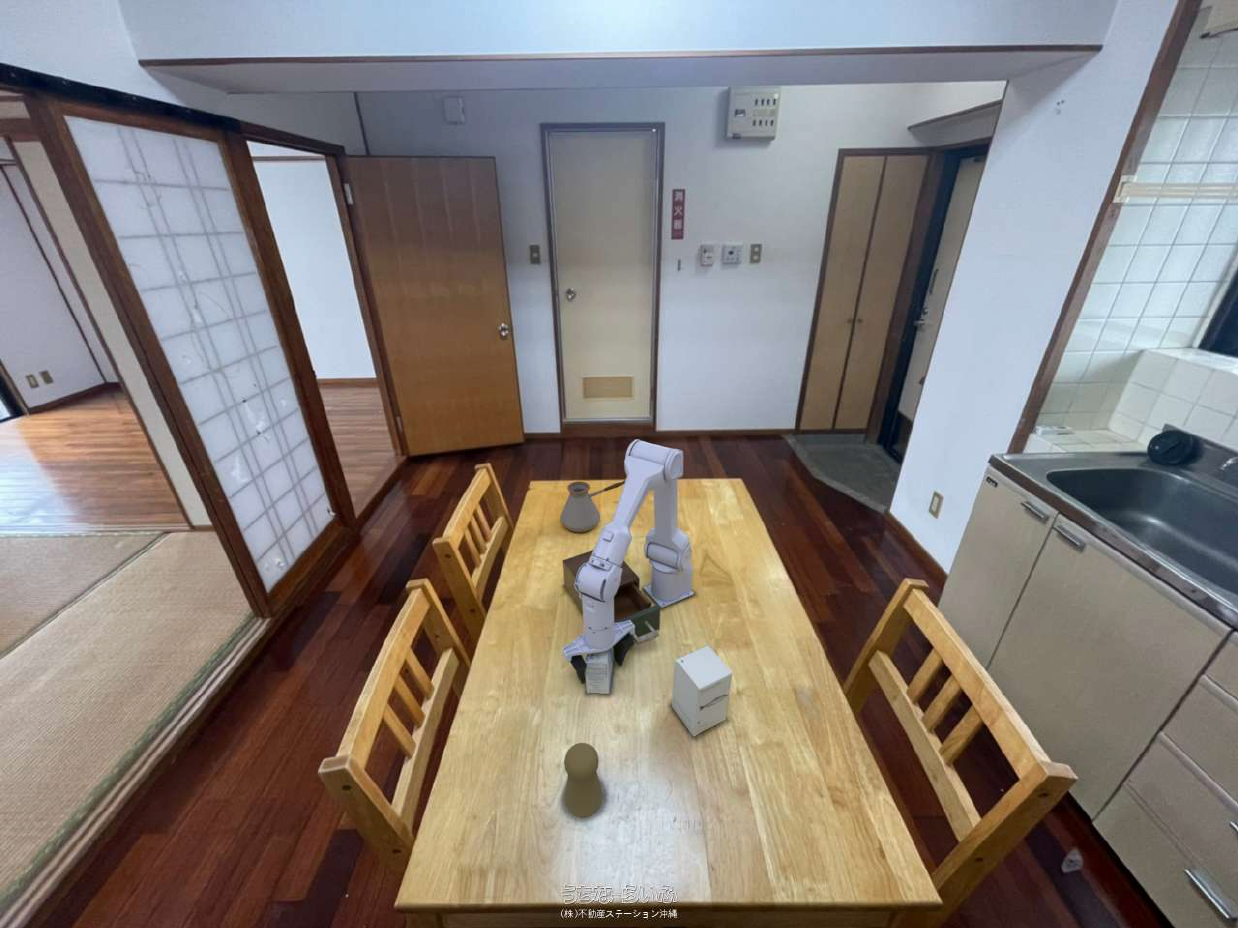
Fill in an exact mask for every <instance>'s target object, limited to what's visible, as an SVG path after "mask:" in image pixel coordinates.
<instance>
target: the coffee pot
mask: <svg viewBox="0 0 1238 928" xmlns="http://www.w3.org/2000/svg"><path fill="white" fill-rule="evenodd" d="M625 480H626V479H624V480H623V481H620V482H616V483H613V484H611V485H608V486H606V487H605V488H602V489H599V490H597V491H594V492H591V493H589V491H590V489H591V485H590V484H589V483H588V482H586V481H583V480H581V481H580V480H578V481H572V482H570V483H568V485H567V487H566V489H567V491H568V492H569V495H568V497H567V498H566V502H565V504H564V506H563V509H562V511H561V513H560V516H559V519H560V520H559V521H560V522H561V524H562V526H563V527H565V528H566V529H567V530H569V531H570V532H573V533H578V534H579V533H580V534H581V533H586V532H588V531H591V530H592V529H593V528H594V527H596V526H597V525H598V523H599V521H600V519H601V514H600V512H599V510H598V508H597V506H596V504H595V502H594V501H593V499H592V498H593V497H595V496H597V495H599V494H602V493H604V492H608V491H611V490H614V489H617V488H619V487H621V486H624V483H625Z"/></svg>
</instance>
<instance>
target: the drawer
mask: <svg viewBox="0 0 1238 928" xmlns="http://www.w3.org/2000/svg"><path fill="white" fill-rule="evenodd" d="M628 620H630V621H631V622H632V623H633V625H634V626H635V633H634V634H632V635H631V637H632V638H633V639H634V644H635V645H636V646H640V645H643V644H645V643H647V642H649V641H651V640H654V639H656V638H658V637H659V636H660V633H659V630H660V623H661V607H660V606H659V605H658V604H654V605H652V601H651V600H650V599H649V597H647V596H646V595H645V593H644V592H643V591H642V590H641V589H640V587H639V588H638V587H637V586H636V585H635V584H634V583H632V584H629V585H627V586H624V587H622V588H619V589H618V590H617V593H616V594H615V596H614V623H620V622H625V621H628ZM613 650H614V646H613Z"/></svg>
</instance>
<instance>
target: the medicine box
mask: <svg viewBox="0 0 1238 928" xmlns="http://www.w3.org/2000/svg"><path fill="white" fill-rule="evenodd" d="M584 661H585V663H586V664H587V666H586V670H585V679H586V681H585V683H586V685H585V686H586V692H587V694H600V695H601V694H602V695H609V694H610V690H611V682H612V674H613V666H614V649H613V647H612V648H610V649H609V650H607V651H604V652H598V653H590V654H586V656H585V660H584Z"/></svg>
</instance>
